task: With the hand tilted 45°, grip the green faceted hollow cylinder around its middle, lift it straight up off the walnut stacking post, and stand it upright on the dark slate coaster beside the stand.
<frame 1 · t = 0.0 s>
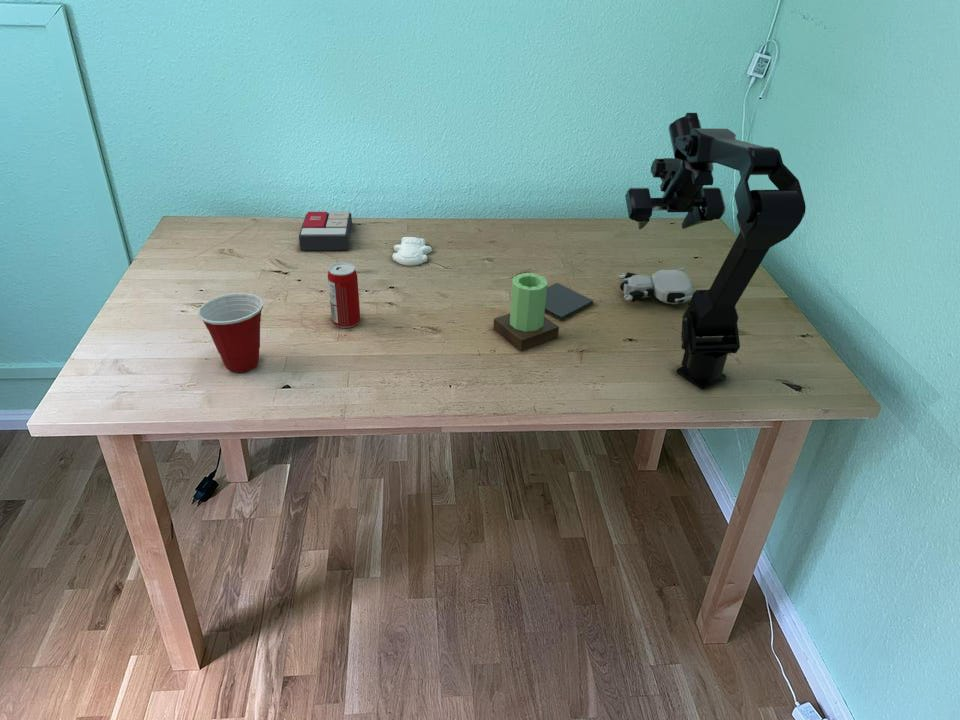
hand: (661, 227, 145), 15 cm above the table, tool tilted 35°, fingers open, 9 cm apart
soda can: (346, 322, 139), on the table
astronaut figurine: (412, 254, 164), on the table
slate coaster: (558, 303, 148), on the table
green faceted hollow cylinder: (526, 322, 136), point 2 cm above the table, touching stacking stand
stacking stand: (525, 333, 138), on the table
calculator: (327, 237, 170), on the table
plastic cup: (241, 364, 126), on the table
robot toy: (653, 297, 152), on the table
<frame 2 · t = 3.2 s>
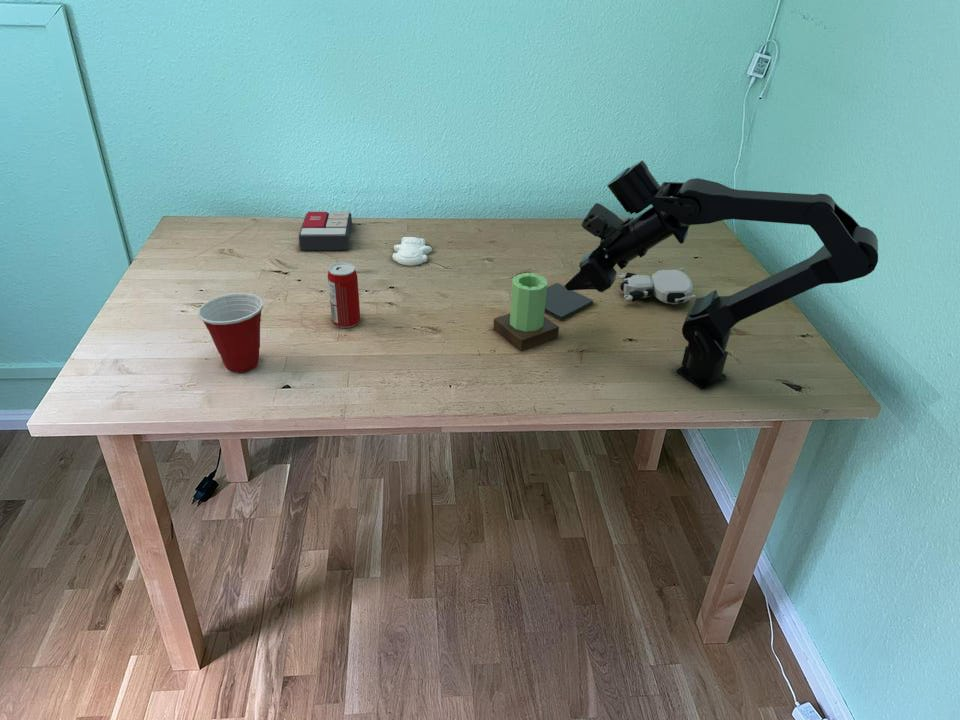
hand: (574, 277, 129), 14 cm above the table, tool tilted 45°, fingers open, 9 cm apart
nothing on the table moved.
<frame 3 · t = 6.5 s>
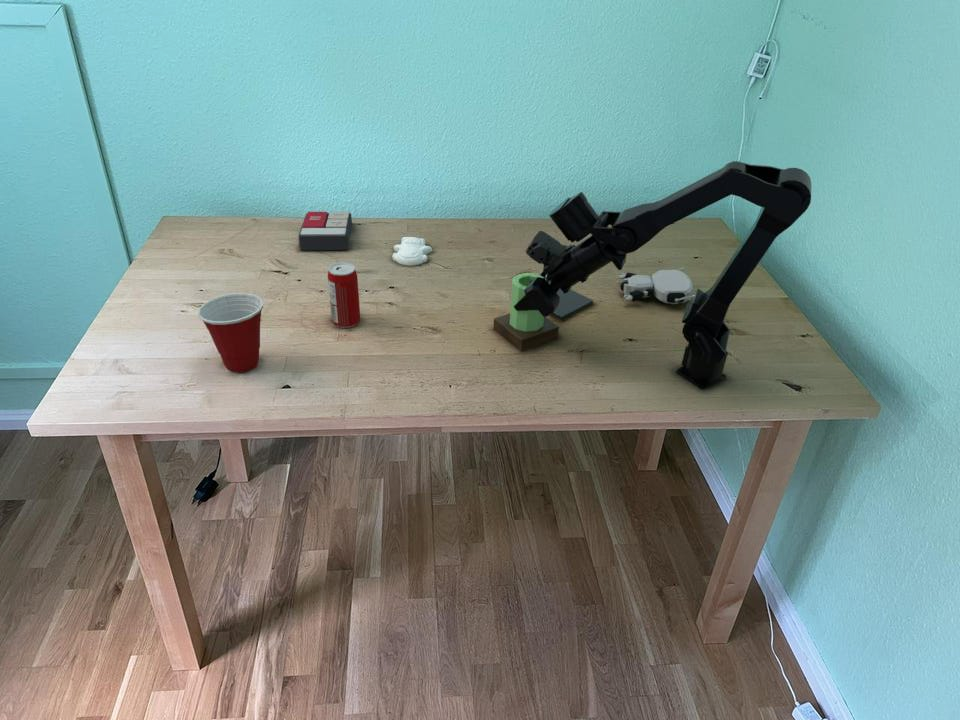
hand: (521, 300, 134), 7 cm above the table, tool tilted 45°, fingers closed on green faceted hollow cylinder, 6 cm apart
green faceted hollow cylinder: (526, 322, 136), point 3 cm above the table, touching gripper, stacking stand
everything else where it was.
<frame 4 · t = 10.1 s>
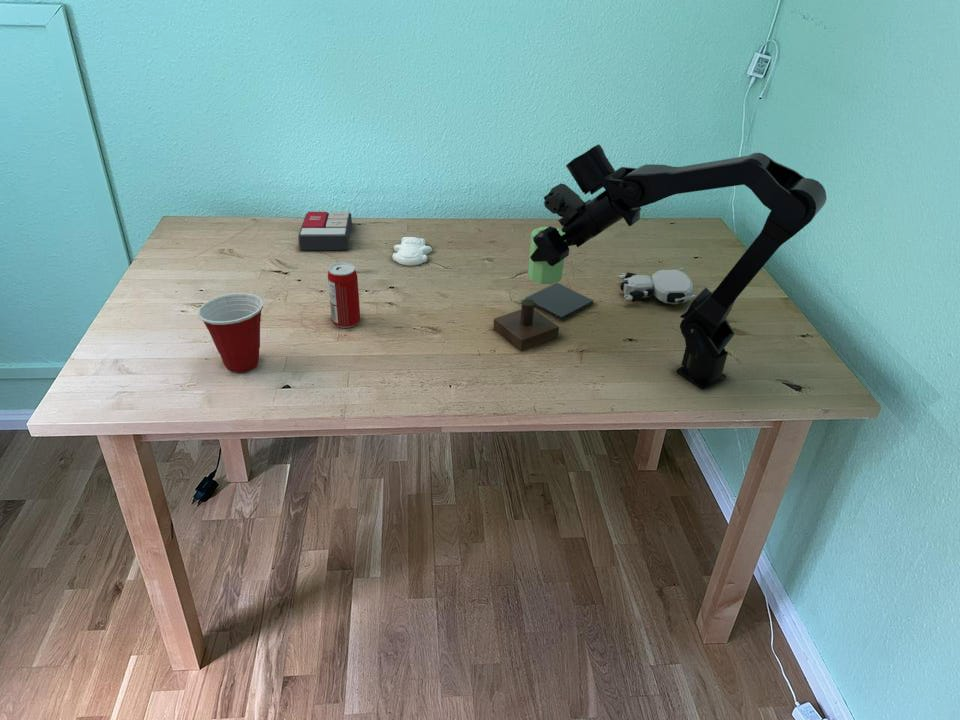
hand: (541, 252, 137), 13 cm above the table, tool tilted 45°, fingers closed on green faceted hollow cylinder, 6 cm apart
green faceted hollow cylinder: (545, 276, 139), point 9 cm above the table, touching gripper
everything else where it was.
when the fingers open (6 cm above the table, at t = 13.9 s): green faceted hollow cylinder stays where it is, resting on slate coaster.
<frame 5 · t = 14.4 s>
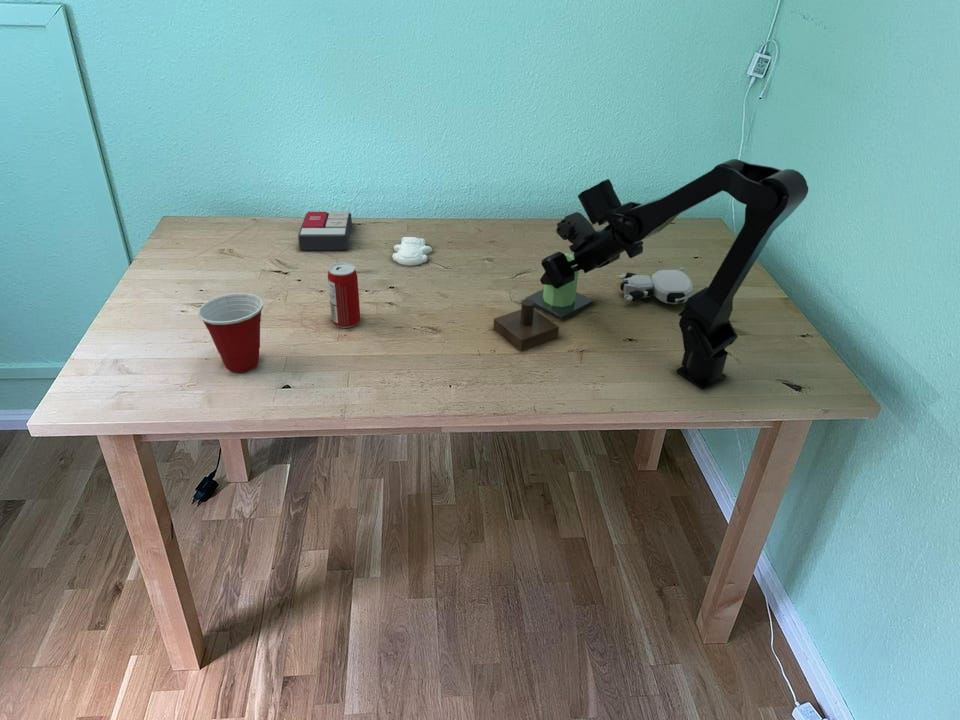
hand: (556, 274, 145), 6 cm above the table, tool tilted 45°, fingers open, 9 cm apart
green faceted hollow cylinder: (558, 298, 147), point 1 cm above the table, touching slate coaster
everything else where it was.
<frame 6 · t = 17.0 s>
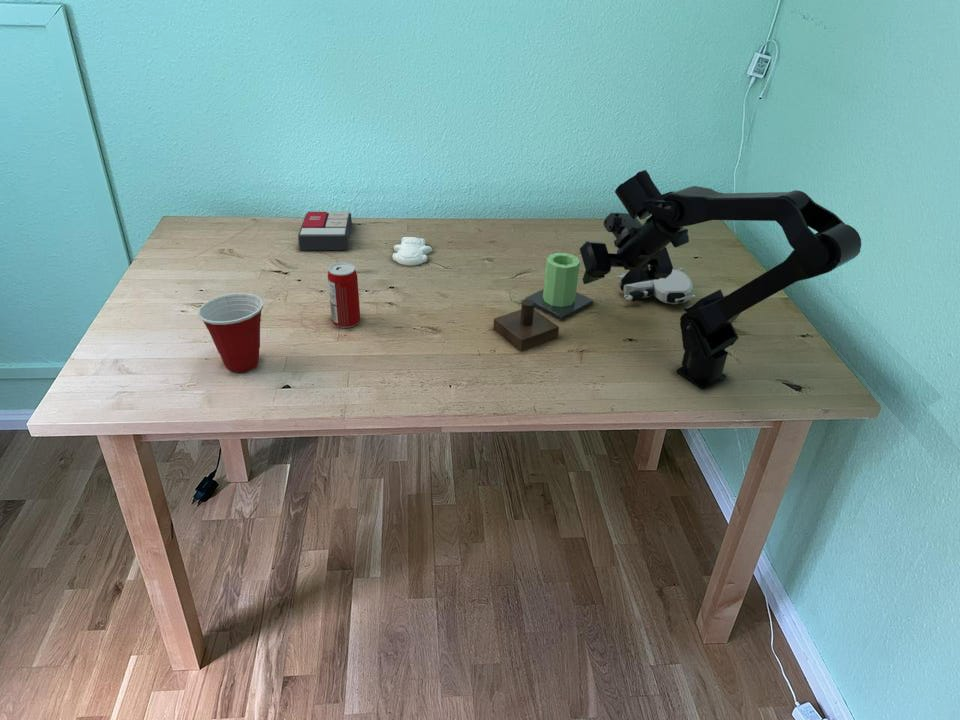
hand: (603, 282, 139), 8 cm above the table, tool tilted 35°, fingers open, 9 cm apart
nothing on the table moved.
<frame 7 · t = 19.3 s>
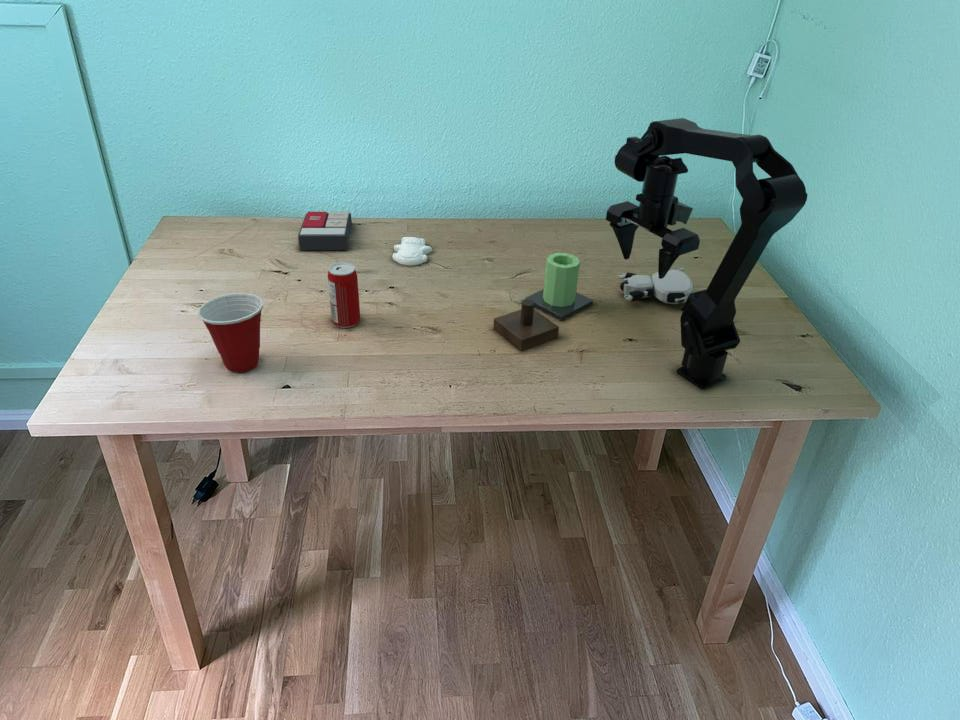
hand: (643, 268, 136), 12 cm above the table, tool pointing down, fingers open, 9 cm apart
nothing on the table moved.
at the end: green faceted hollow cylinder 0.1 cm off-centre on the slate coaster, point 1.0 cm above the slate coaster's base; green faceted hollow cylinder tilted 0°; green faceted hollow cylinder touching slate coaster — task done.
